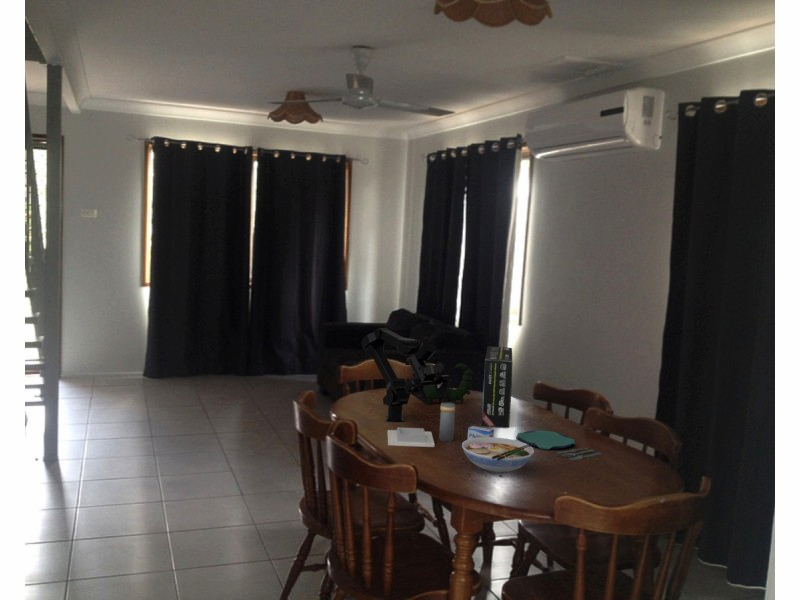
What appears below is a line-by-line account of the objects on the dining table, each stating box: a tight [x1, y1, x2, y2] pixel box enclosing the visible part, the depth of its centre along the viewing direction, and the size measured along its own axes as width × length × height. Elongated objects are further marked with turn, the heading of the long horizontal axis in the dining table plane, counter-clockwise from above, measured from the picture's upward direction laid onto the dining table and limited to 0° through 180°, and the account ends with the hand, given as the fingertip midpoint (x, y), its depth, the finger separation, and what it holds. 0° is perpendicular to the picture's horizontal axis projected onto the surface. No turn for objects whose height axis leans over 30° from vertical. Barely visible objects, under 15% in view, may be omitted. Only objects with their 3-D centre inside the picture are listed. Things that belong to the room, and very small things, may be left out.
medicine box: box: [466, 425, 495, 440], centre depth 245 cm, size 8×4×9 cm, turn 62°
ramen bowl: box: [461, 436, 536, 474], centre depth 228 cm, size 25×23×8 cm
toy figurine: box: [423, 363, 474, 405], centre depth 316 cm, size 9×19×25 cm
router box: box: [481, 345, 513, 429], centre depth 296 cm, size 36×11×27 cm, turn 172°
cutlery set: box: [515, 429, 602, 461], centre depth 258 cm, size 20×30×2 cm, turn 31°
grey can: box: [438, 402, 456, 442], centre depth 259 cm, size 5×5×13 cm
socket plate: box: [387, 427, 435, 448], centre depth 257 cm, size 16×16×4 cm
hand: (437, 403), depth 263 cm, fingers open, 9 cm apart
